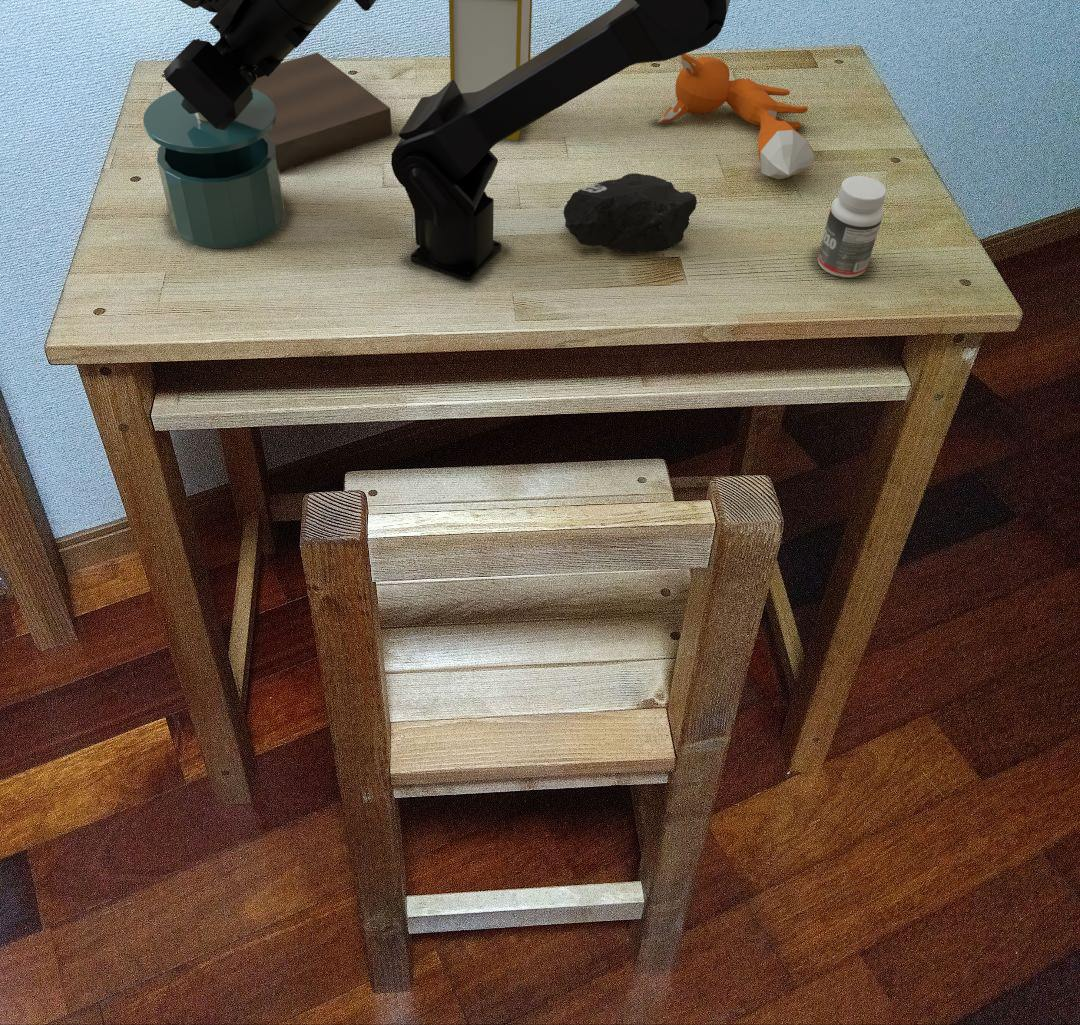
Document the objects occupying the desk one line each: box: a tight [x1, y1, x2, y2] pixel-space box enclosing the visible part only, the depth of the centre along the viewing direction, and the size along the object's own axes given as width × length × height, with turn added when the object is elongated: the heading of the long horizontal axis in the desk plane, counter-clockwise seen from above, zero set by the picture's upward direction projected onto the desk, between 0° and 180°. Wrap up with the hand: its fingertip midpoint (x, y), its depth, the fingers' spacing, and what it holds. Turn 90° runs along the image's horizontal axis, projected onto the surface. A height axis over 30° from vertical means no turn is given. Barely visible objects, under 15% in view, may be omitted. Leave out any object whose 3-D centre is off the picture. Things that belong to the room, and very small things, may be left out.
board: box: [251, 52, 393, 173], centre depth 121 cm, size 15×14×3 cm
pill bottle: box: [817, 175, 887, 278], centre depth 106 cm, size 5×5×8 cm
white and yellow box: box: [448, 0, 533, 141], centre depth 114 cm, size 7×13×24 cm, turn 171°
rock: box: [563, 172, 698, 254], centre depth 108 cm, size 10×9×6 cm
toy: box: [657, 53, 815, 180], centre depth 121 cm, size 8×22×15 cm
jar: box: [156, 134, 286, 250], centre depth 107 cm, size 11×11×7 cm
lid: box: [142, 88, 276, 154], centre depth 101 cm, size 12×12×5 cm
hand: (193, 101), depth 102 cm, fingers closed on lid, 3 cm apart
